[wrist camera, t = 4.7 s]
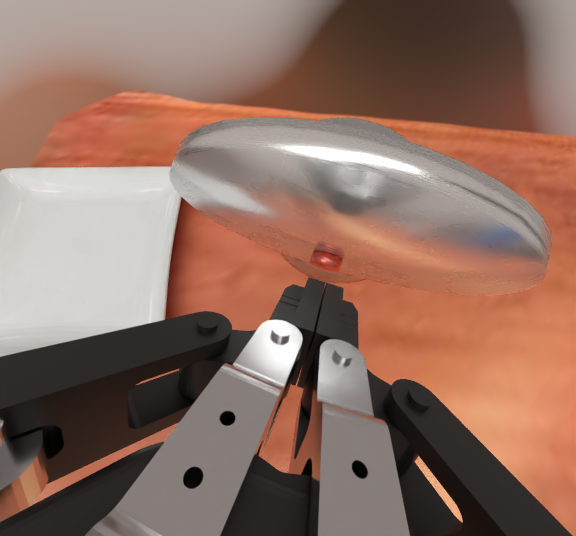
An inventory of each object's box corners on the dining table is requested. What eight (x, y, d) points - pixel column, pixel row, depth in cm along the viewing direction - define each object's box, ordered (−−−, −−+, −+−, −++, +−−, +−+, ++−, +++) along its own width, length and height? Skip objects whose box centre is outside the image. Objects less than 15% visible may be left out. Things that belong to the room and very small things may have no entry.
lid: (423, 287, 28) (417, 307, 28) (235, 229, 30) (228, 247, 30) (789, 236, 7) (779, 322, 7) (63, 53, 9) (36, 112, 9)
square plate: (20, 182, 43) (-4, 165, 40) (193, 181, 44) (185, 164, 40) (-52, 363, 34) (-93, 362, 30) (171, 359, 34) (157, 358, 30)
